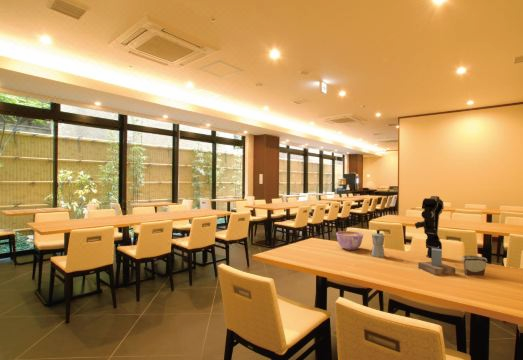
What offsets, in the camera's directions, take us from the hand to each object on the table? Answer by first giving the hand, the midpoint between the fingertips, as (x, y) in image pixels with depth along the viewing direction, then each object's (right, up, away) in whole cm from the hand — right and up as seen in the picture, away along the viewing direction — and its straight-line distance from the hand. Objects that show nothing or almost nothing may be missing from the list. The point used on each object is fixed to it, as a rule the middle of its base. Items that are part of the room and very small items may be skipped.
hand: (429, 242), depth 185 cm
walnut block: (-6, -14, -17) cm, 23 cm away
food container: (+11, -14, -22) cm, 28 cm away
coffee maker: (-26, -13, +16) cm, 33 cm away
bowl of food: (-41, -13, +35) cm, 55 cm away
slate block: (-6, -10, -17) cm, 20 cm away
